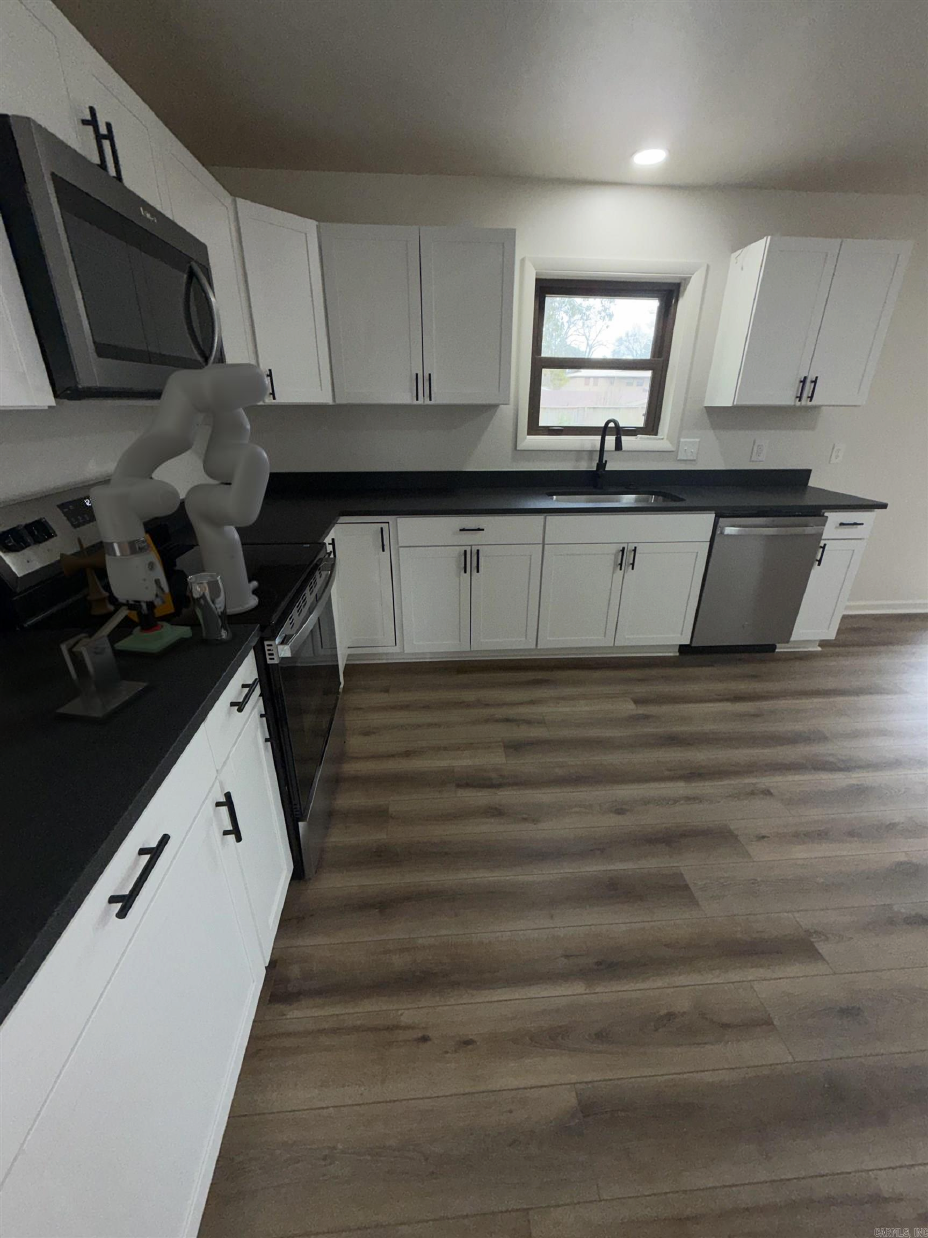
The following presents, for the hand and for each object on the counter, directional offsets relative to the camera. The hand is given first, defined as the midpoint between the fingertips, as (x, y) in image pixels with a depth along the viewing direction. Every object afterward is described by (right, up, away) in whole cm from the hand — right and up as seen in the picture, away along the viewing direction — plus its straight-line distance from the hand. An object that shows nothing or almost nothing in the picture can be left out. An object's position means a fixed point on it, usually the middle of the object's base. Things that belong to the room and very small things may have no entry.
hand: (149, 627), depth 109 cm
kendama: (-23, +3, +18) cm, 29 cm away
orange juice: (-11, +3, +18) cm, 21 cm away
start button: (0, -1, +1) cm, 2 cm away
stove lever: (+5, -1, -19) cm, 20 cm away
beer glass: (+13, -3, +5) cm, 14 cm away
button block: (0, -4, +2) cm, 4 cm away
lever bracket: (+4, -13, -19) cm, 24 cm away
